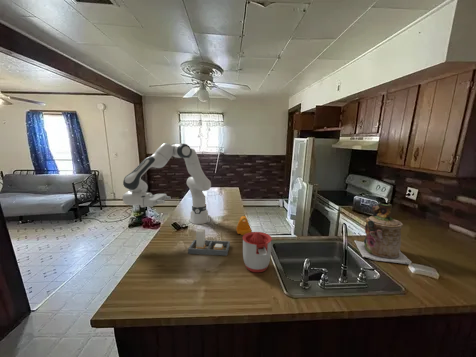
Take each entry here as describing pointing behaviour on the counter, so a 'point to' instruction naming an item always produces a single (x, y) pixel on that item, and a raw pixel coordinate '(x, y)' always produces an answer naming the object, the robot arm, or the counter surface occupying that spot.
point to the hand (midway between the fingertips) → (167, 199)
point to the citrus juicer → (256, 251)
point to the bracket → (243, 226)
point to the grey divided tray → (216, 251)
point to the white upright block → (200, 239)
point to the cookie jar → (382, 237)
